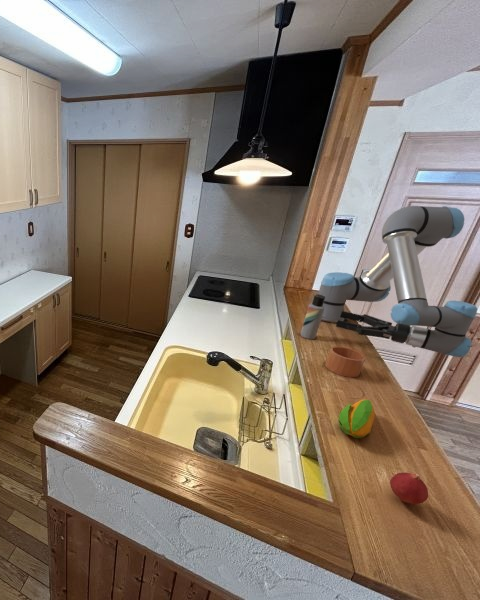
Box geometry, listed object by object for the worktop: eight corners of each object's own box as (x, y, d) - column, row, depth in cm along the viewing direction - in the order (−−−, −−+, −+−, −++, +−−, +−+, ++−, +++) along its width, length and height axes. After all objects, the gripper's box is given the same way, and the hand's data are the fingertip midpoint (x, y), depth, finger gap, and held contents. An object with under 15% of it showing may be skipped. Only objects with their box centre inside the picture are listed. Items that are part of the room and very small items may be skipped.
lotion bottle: (310, 334, 149) (323, 293, 142) (317, 339, 143) (331, 298, 136) (297, 333, 149) (309, 292, 142) (304, 339, 144) (317, 297, 137)
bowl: (350, 364, 125) (356, 348, 122) (364, 379, 116) (371, 362, 113) (320, 360, 127) (325, 344, 125) (332, 374, 118) (338, 358, 115)
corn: (339, 411, 87) (356, 383, 100) (329, 432, 90) (346, 402, 103) (374, 428, 82) (387, 396, 95) (361, 450, 85) (375, 416, 98)
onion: (378, 489, 74) (390, 463, 71) (400, 487, 75) (414, 461, 72) (403, 513, 69) (418, 486, 66) (428, 511, 69) (443, 485, 66)
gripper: (404, 355, 116) (332, 335, 129) (403, 333, 133) (340, 318, 147) (412, 336, 113) (337, 318, 127) (410, 316, 130) (345, 302, 144)
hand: (338, 318), depth 137 cm, fingers open, 13 cm apart
